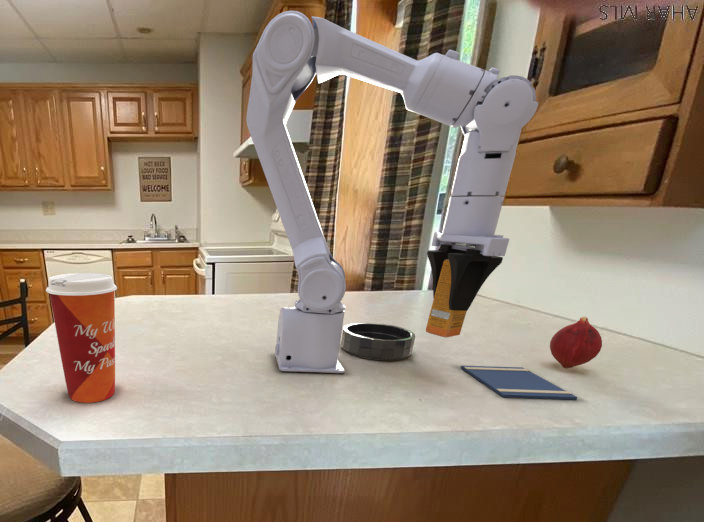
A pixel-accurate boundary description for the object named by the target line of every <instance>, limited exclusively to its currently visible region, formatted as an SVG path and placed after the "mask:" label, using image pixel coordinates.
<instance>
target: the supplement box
mask: <svg viewBox="0 0 704 522" xmlns="http://www.w3.org/2000/svg"><path fill="white" fill-rule="evenodd" d="M450 288H451V268H450V263H449V259H446V260H444V262H443V266H442V270H441V273H440V277H439V281H438V285H437V288H436V292H435V296H434V298H433V300H432V303H431V308H430V311H429V315H428V319H427V323H426V327H425V332H426V333H428V334H431V335H434V336H437V337H442V338H450V337H451V338H452V337H456V336H460V335H461V331H462V328H463V325H464V321H465V319H466V315H467V312H468V310H467V311H458V310H450V309H449V295H450Z"/></svg>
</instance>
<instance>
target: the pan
mask: <svg viewBox="0 0 704 522" xmlns="http://www.w3.org/2000/svg"><path fill="white" fill-rule="evenodd" d="M415 339H416V333H414V332H413V331H412V330H410V329H407V328H404V327H401V326H397V325H392V324H387V323H386V324H385V323H378V322H377V323H376V322H355V323H350V324H349V323H348V324H346V325H344V326H343V327H342V333H341V340H340V347H341V348H342V349H343V350H344V351H345V352H346V353H348V354H350V355H353V356H355V357H358V358H363V359H367V360H373V361H384V362H387V361H400V360H403V359H406V358H407V357H409V356H411V355H412V354H413V350H414V346H415V345H414V344H415Z"/></svg>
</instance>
